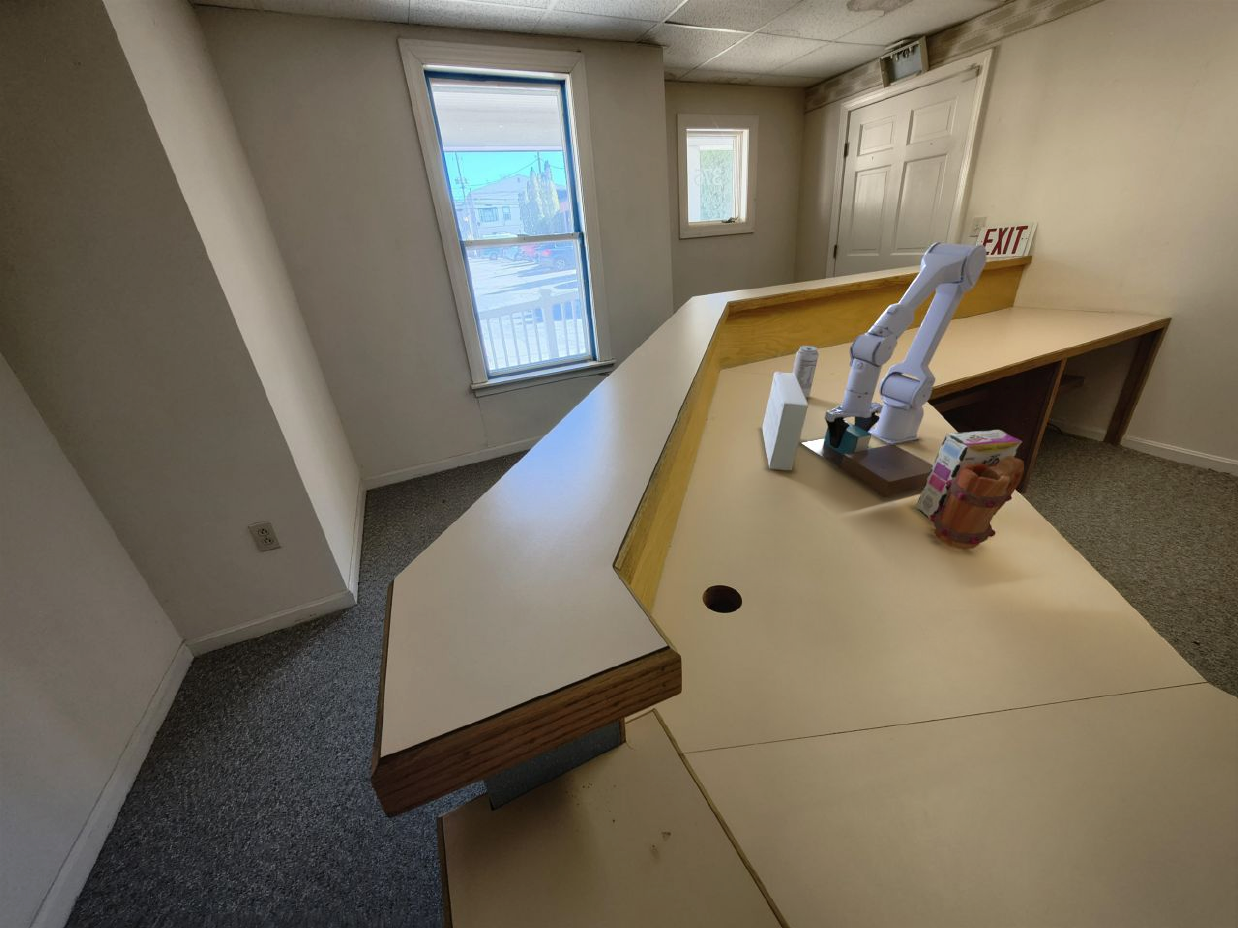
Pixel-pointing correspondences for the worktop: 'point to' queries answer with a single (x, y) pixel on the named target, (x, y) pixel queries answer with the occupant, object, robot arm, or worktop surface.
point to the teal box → (851, 440)
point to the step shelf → (879, 467)
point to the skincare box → (784, 420)
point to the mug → (976, 502)
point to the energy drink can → (805, 367)
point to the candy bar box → (962, 463)
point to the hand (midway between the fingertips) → (845, 444)
